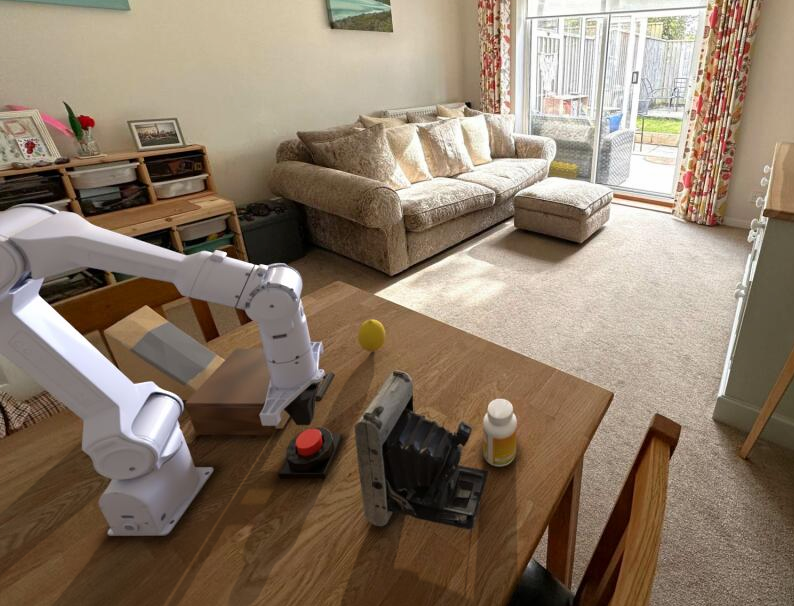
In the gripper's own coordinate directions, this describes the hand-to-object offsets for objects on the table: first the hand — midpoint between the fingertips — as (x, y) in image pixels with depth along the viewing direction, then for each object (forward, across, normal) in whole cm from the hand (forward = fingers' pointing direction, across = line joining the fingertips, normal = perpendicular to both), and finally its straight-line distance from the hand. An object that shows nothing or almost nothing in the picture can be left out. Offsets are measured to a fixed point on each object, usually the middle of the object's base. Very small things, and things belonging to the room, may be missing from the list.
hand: (304, 421), depth 62 cm
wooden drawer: (+7, +11, +10) cm, 16 cm away
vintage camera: (+8, -7, -20) cm, 23 cm away
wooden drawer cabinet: (+8, +11, +15) cm, 20 cm away
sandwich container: (+8, +16, +31) cm, 36 cm away
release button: (+5, 0, 0) cm, 5 cm away
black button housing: (+8, 0, 0) cm, 8 cm away
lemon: (+8, +26, -2) cm, 27 cm away
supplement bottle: (+8, +1, -30) cm, 31 cm away
